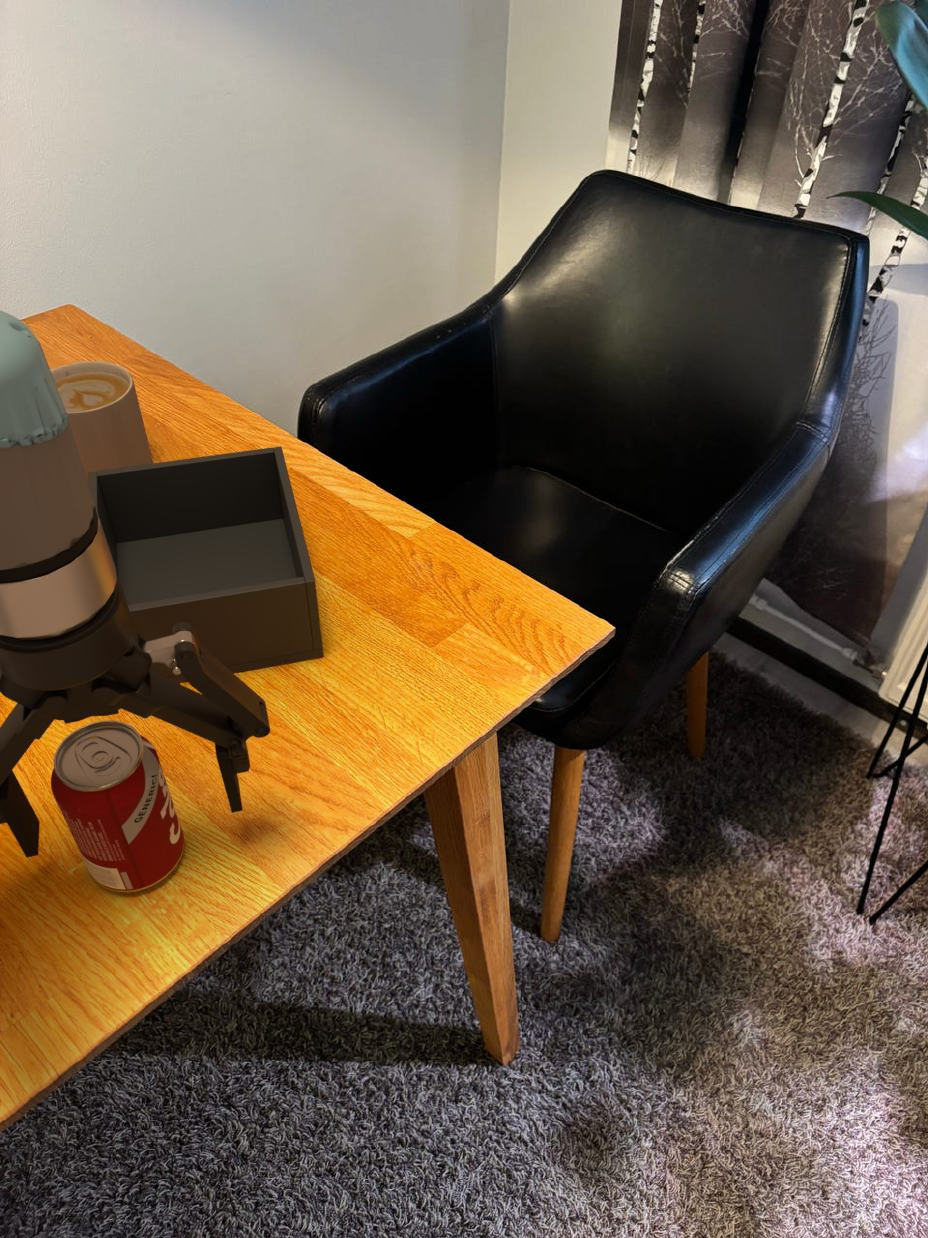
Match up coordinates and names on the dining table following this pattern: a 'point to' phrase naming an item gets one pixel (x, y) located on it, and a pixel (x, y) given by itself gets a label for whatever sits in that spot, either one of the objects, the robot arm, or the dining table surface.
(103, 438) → the coffee mug
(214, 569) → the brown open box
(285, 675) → the dining table surface
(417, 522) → the dining table surface
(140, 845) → the soda can
